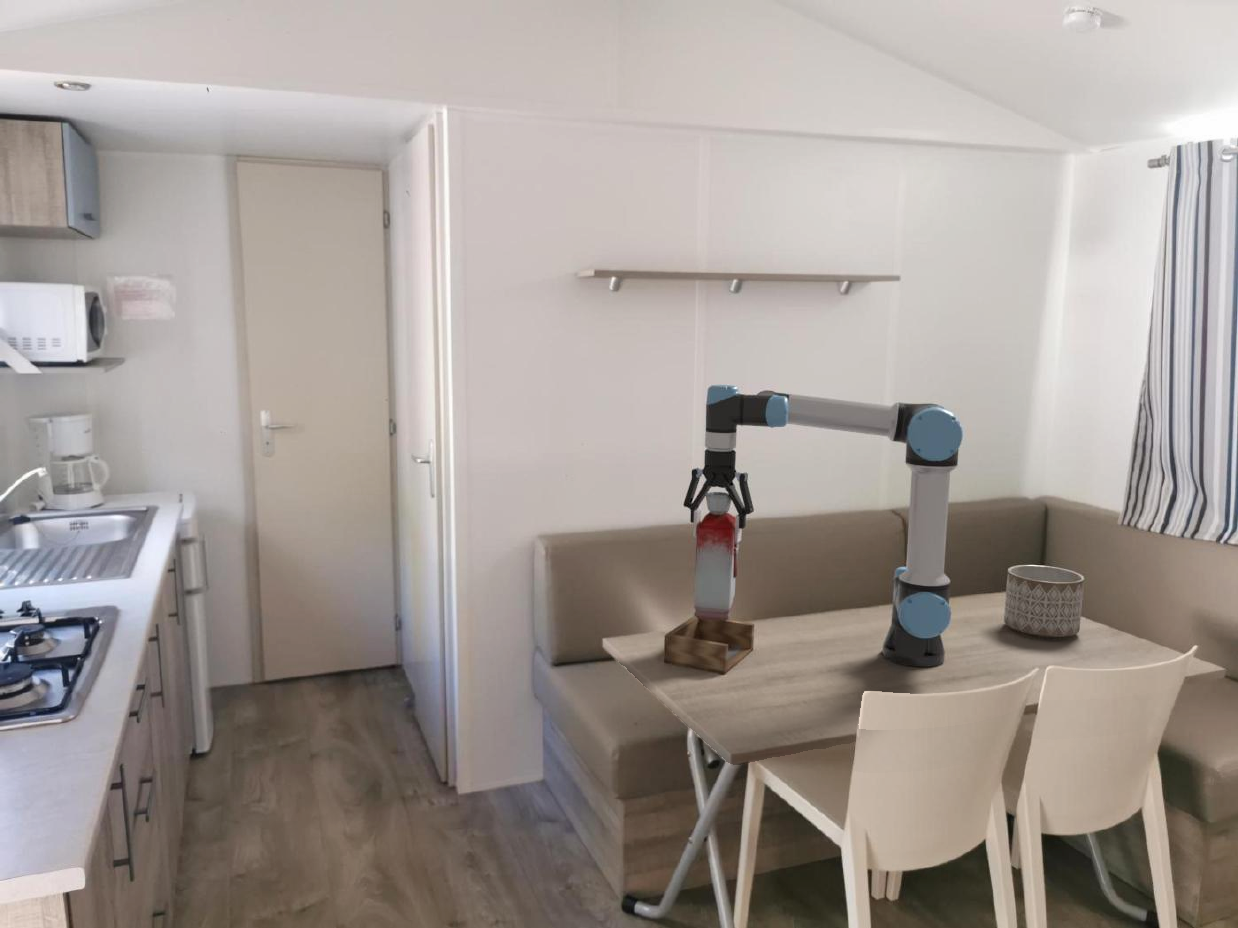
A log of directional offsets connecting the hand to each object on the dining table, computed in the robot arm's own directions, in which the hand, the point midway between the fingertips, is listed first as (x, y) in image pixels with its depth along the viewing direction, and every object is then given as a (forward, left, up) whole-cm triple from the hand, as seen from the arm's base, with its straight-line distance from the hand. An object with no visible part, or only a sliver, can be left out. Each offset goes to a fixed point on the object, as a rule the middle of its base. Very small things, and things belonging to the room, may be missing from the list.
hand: (717, 538), depth 243 cm
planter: (-71, -66, -31) cm, 102 cm away
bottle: (0, 0, -19) cm, 19 cm away
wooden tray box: (+1, 0, -30) cm, 30 cm away
